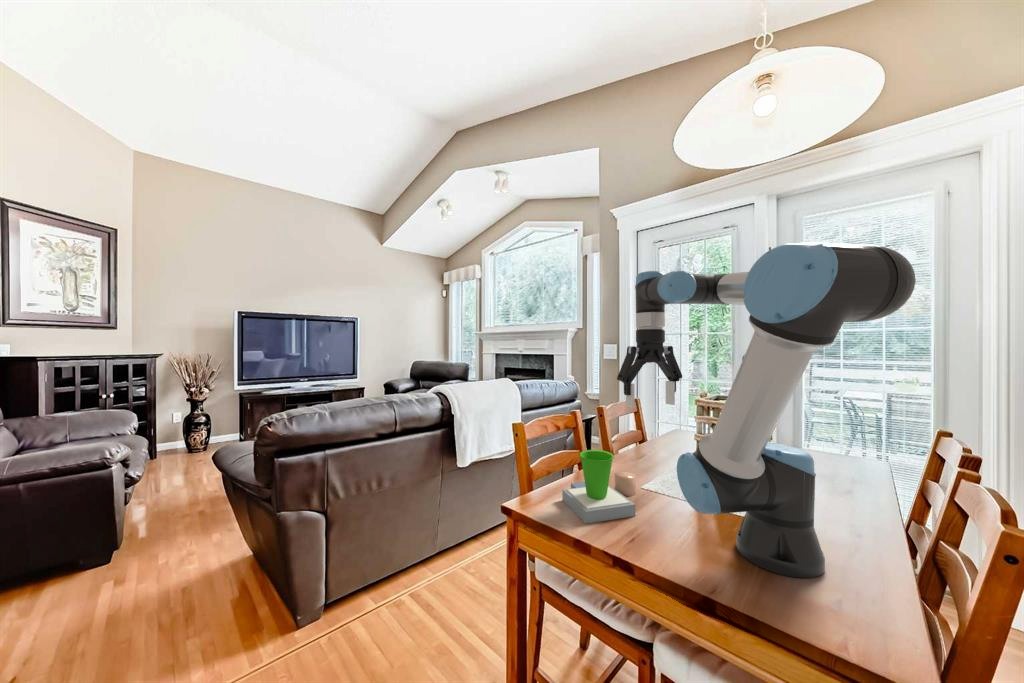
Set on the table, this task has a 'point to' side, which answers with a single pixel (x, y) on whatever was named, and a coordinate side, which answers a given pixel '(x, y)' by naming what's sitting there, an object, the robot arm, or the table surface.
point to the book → (578, 485)
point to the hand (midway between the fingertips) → (650, 405)
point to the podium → (598, 505)
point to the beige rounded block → (625, 483)
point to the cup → (596, 472)
